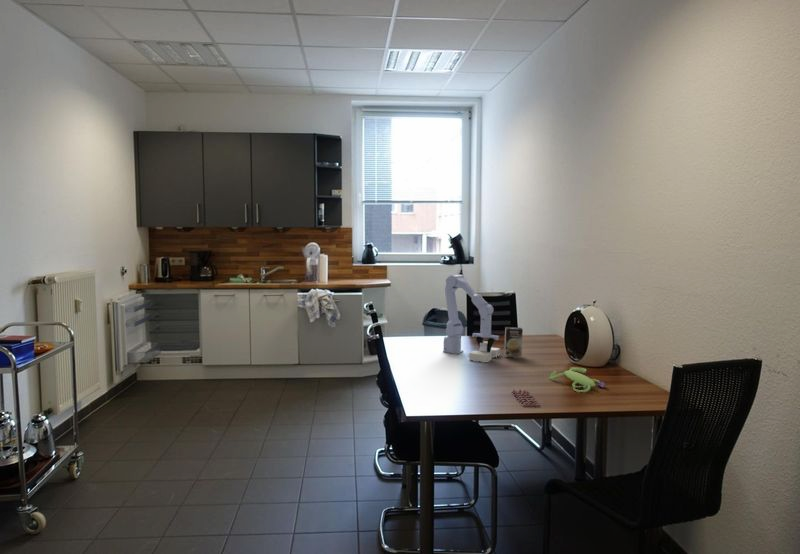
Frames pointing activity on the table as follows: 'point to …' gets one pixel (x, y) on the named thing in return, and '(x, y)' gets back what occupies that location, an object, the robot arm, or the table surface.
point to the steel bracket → (484, 346)
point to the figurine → (578, 379)
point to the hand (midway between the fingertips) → (485, 351)
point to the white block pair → (484, 355)
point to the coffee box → (513, 342)
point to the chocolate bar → (525, 398)
